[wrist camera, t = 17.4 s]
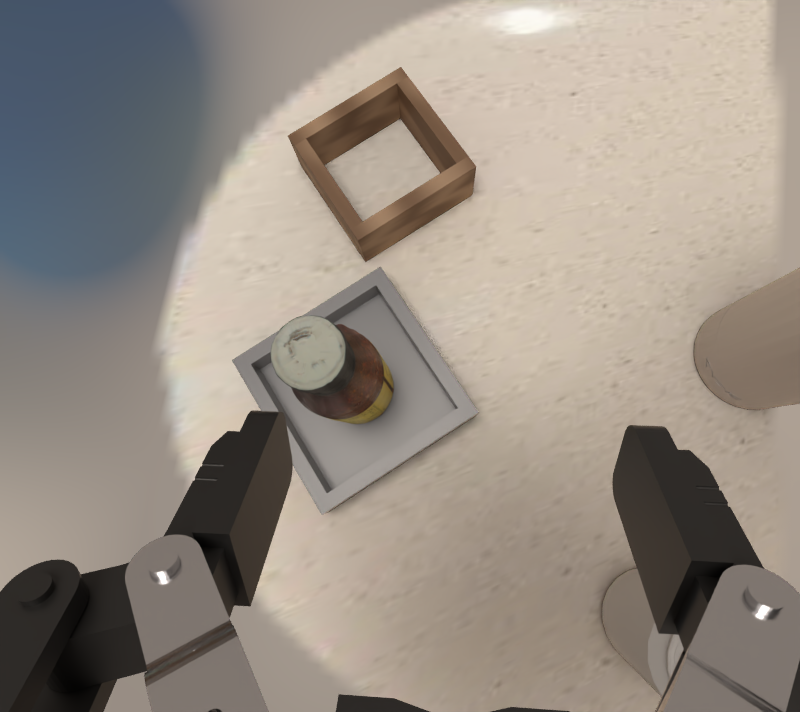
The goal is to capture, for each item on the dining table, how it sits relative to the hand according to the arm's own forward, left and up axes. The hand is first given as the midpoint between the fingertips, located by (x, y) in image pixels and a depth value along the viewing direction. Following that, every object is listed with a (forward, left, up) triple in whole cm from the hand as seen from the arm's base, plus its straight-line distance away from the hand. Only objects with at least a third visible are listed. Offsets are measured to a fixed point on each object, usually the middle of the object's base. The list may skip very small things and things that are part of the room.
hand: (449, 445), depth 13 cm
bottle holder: (-10, -25, -35) cm, 44 cm away
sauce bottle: (+3, -9, -34) cm, 35 cm away
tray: (+3, -9, -35) cm, 36 cm away
